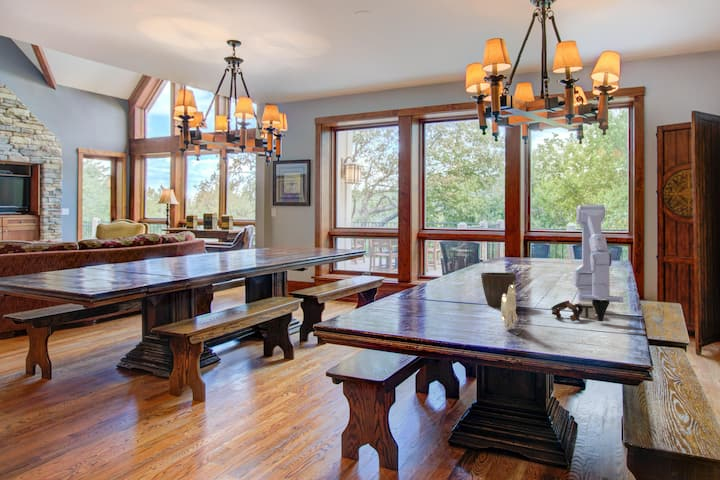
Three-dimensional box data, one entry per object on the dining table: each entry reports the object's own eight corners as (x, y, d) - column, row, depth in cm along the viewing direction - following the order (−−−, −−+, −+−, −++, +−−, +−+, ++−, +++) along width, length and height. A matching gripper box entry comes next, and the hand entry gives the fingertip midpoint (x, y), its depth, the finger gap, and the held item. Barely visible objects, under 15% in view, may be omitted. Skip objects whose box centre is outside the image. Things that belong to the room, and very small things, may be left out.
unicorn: (497, 322, 182) (497, 276, 182) (508, 322, 181) (508, 276, 181) (508, 332, 162) (508, 281, 162) (520, 332, 162) (520, 281, 162)
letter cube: (578, 316, 196) (578, 301, 196) (595, 317, 193) (595, 302, 193) (578, 318, 190) (578, 303, 190) (595, 319, 188) (595, 304, 188)
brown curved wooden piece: (567, 323, 180) (557, 302, 183) (554, 330, 188) (544, 311, 191) (593, 314, 183) (582, 294, 186) (578, 322, 192) (568, 303, 195)
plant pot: (520, 312, 206) (520, 274, 206) (485, 312, 206) (485, 274, 206) (510, 307, 221) (510, 272, 221) (477, 307, 221) (477, 272, 221)
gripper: (577, 283, 180) (577, 320, 180) (621, 285, 172) (621, 324, 172) (581, 282, 186) (581, 318, 186) (624, 284, 177) (624, 321, 177)
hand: (600, 320), depth 179 cm, fingers closed
